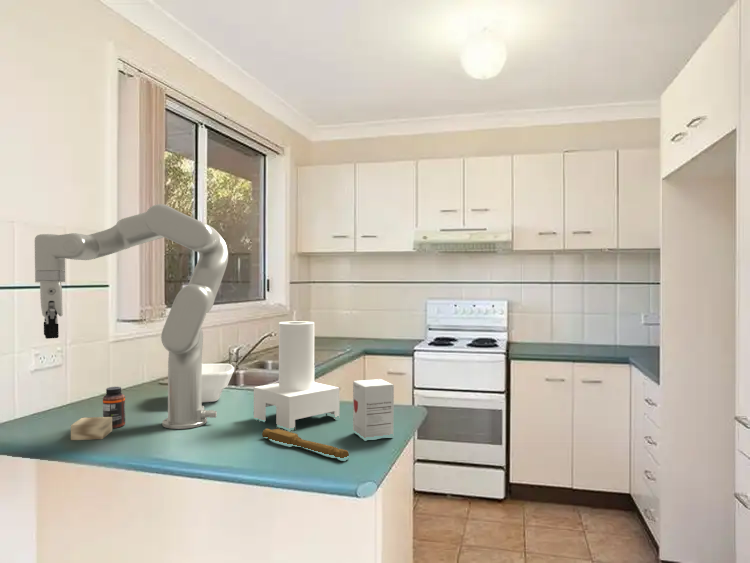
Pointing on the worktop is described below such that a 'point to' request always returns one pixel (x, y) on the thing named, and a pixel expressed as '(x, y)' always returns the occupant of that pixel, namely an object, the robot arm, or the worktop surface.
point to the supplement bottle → (114, 406)
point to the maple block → (91, 428)
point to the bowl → (215, 380)
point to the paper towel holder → (296, 380)
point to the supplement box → (373, 407)
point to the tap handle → (303, 442)
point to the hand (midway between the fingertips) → (51, 336)
